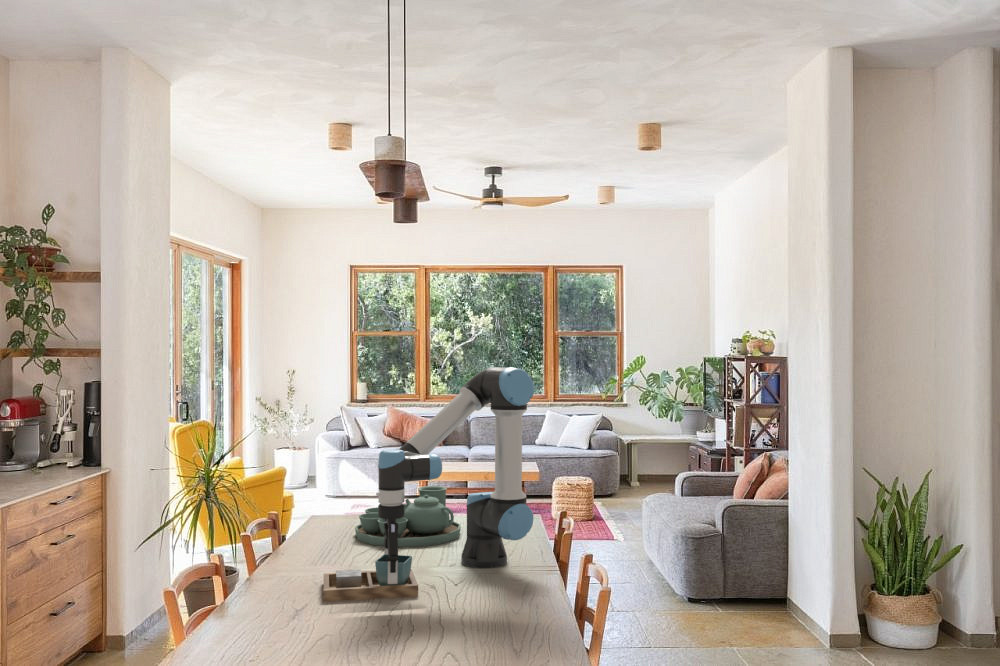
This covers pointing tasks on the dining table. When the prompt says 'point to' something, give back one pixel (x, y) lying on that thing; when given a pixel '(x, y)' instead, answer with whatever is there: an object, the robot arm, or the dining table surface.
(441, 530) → the tea set
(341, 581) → the grey metal block
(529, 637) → the dining table surface
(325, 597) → the wooden divided tray
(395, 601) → the dining table surface
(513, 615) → the dining table surface
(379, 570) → the flower pot
